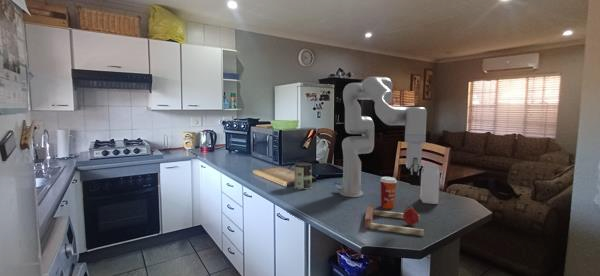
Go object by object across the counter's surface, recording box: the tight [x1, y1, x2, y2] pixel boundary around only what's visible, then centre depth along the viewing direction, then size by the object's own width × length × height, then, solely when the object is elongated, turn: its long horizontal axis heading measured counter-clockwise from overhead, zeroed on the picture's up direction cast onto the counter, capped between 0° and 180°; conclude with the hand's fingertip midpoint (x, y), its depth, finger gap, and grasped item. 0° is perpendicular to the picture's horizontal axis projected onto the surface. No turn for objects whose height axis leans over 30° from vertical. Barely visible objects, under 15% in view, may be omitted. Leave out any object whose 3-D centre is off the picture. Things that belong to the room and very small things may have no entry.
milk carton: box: [419, 163, 441, 205], centre depth 144 cm, size 7×7×19 cm
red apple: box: [402, 206, 420, 227], centre depth 115 cm, size 6×6×8 cm
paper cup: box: [380, 176, 398, 210], centre depth 136 cm, size 8×8×14 cm
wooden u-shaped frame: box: [364, 204, 425, 236], centre depth 117 cm, size 21×16×4 cm
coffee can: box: [293, 162, 313, 190], centre depth 168 cm, size 10×10×14 cm
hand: (413, 182), depth 113 cm, fingers open, 9 cm apart
